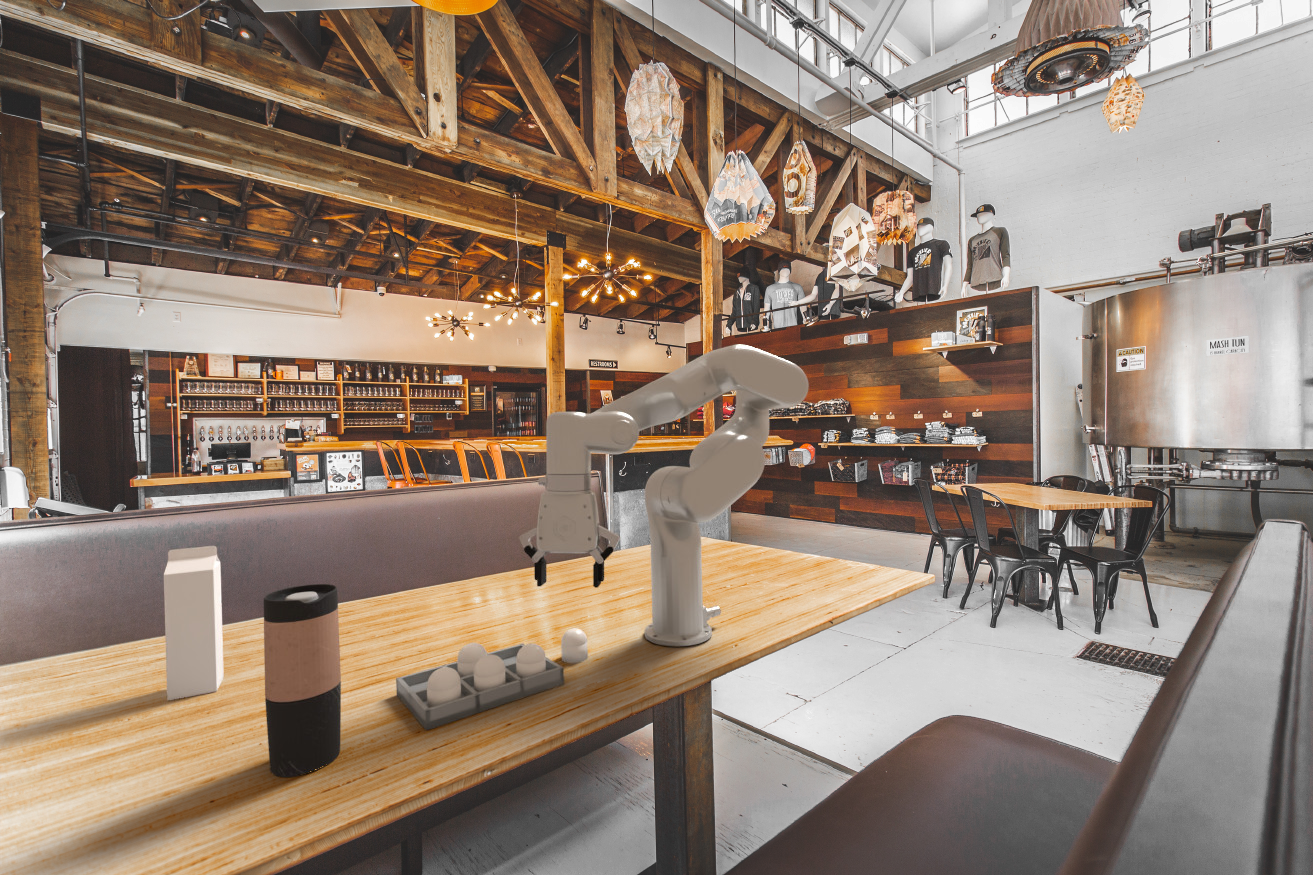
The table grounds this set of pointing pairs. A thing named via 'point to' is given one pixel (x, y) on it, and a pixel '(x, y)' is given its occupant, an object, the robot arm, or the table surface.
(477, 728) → the table surface
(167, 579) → the milk
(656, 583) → the robot arm
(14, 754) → the table surface
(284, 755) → the travel mug
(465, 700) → the carton
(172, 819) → the table surface
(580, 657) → the egg
